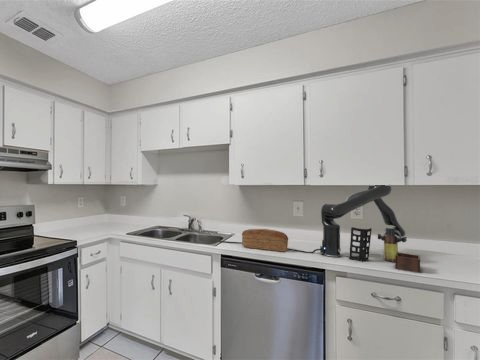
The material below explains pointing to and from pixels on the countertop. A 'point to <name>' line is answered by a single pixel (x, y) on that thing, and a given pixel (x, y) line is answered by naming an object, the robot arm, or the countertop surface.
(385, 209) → the robot arm
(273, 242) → the bread
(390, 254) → the sauce bottle
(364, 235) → the holder
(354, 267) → the countertop surface
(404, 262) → the wooden sleeve
